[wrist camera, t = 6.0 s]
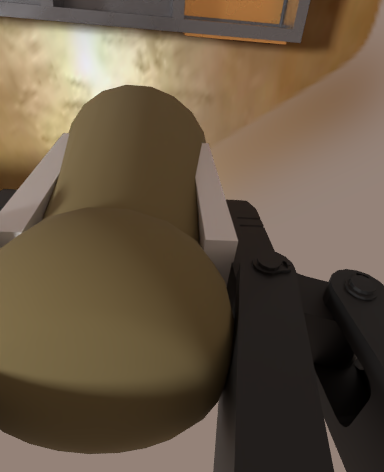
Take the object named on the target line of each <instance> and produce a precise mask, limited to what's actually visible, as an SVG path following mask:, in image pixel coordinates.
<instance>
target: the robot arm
mask: <svg viewBox="0 0 384 472" xmlns="http://www.w3.org/2000/svg"><path fill="white" fill-rule="evenodd" d="M68 137H69V133H63V134H62V135H61V137H60V138H59V139H58V140H57V142H56V143H55V144H54V145H53V147H52V148H51V149H50V150H49V152H48V153H47V154H46V155H45V156H44V158H43V159H42V160H41V161H40V163H39V164H38V165H37V166H36V168H35V169H34V170H33V171H32V173H31V174H30V175H29V176H28V178H27V179H26V180H25V181H24V182H23V184H22V185H21V186H20V187H19V189H18V190H12V189H3V190H1V191H0V248H1V247H3V246H4V245H6V244H7V243H8V242H10V241H11V240H13V239H14V238H15V237H17V236H18V235H20V234H21V233H23V232H24V231H26V230H28V229H29V228H31V227H32V226H34V225H36V224H37V223H39V222H40V221H42V218H43V215H44V212H45V210H46V207H47V205H48V202H49V199H50V197H51V194H52V192H53V189H54V186H55V184H56V181H57V178H58V176H59V173H60V169H61V165H62V161H63V157H64V153H65V149H66V145H67V141H68ZM195 180H196V193H197V205H198V224H199V245H200V246H201V248H202V249H203V250H204V252H205V253H206V254H207V255H208V257H209V258H210V259H211V261H212V262H213V263H214V265H215V266H216V268H217V270H218V271H219V273H220V274H221V276H222V278H223V279H224V281H225V284H226V288H227V292H228V296H229V300H230V305H231V309H232V313H233V317H234V336H233V349H232V356H231V363H230V368H229V372H228V375H227V379H226V383H225V387H224V390H223V392H222V394H221V396H220V399H219V404H218V417H217V431H216V445H215V458H214V472H334V469H333V464H332V458H331V453H330V448H329V443H328V437H327V432H326V427H325V422H324V419H325V421H326V423H327V426H328V428H329V431H330V433H331V436H332V438H333V440H334V443H335V445H336V448H337V450H338V453H339V455H340V457H341V459H342V462H343V464H344V467H345V469H346V471H347V472H384V285H383V284H382V283H381V282H379V281H378V280H376V279H375V278H373V277H371V276H370V275H368V274H365V273H362V272H359V271H355V270H348V269H345V270H338V271H337V272H335V273H333V274H332V275H331V278H330V280H329V282H326V281H322V280H318V279H314V278H310V277H306V276H303V275H300V274H298V273H296V270H295V268H294V266H293V264H292V262H290V261H289V260H288V259H287V258H286V257H284V256H283V255H281V254H279V253H277V252H275V251H274V249H273V247H272V244H271V242H270V240H269V237H268V235H267V233H266V231H265V228H263V224H262V221H261V220H260V217H259V215H258V212H257V210H256V209H255V208H254V207H253V206H252V205H251V204H250V203H249V202H247V201H241V200H225V196H224V193H223V189H222V186H221V183H220V180H219V176H218V173H217V170H216V167H215V163H214V160H213V157H212V154H211V150H210V147H209V143H202V146H201V151H200V156H199V161H198V166H197V171H196V176H195Z"/></svg>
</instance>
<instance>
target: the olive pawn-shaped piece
mask: <svg viewBox="0 0 384 472" xmlns="http://www.w3.org/2000/svg"><path fill="white" fill-rule="evenodd" d="M202 143H206V141H205V136H204V132H203V130H202V129H201V127H200V125H199V124H198V122H197V120H196V118H195V117H194V115H193V113H192V112H191V111H190V110H189V109H187V108H186V107H185V106H184V105H183V104H182V103H181V102H179V101H178V100H177V99H176V98H175V97H174V96H171V95H169V94H167V93H164V92H162V91H160V90H157V89H155V88H153V87H146V86H134V85H124V86H120V87H117V88H113V89H109V90H105V91H102V92H101V93H100V94H98V95H97V96H95V97H94V98H93V99H91V100H90V101H89V102H87V103H86V104H84V105H83V107H82V109H81V110H80V112H79V113H78V115H77V116H76V118H75V119H74V121H73V122H72V124H71V128H70V131H69V137H68V141H67V145H66V149H65V153H64V157H63V161H62V165H61V169H60V173H59V176H58V178H57V181H56V184H55V186H54V189H53V192H52V194H51V197H50V199H49V202H48V205H47V207H46V210H45V212H44V215H43V218H42V221H40V222H39V223H37V224H36V225H34V226H32V227H31V228H29V229H28V230H26V231H24V232H23V233H21V234H20V235H18V236H17V237H15V238H14V239H13V240H11V241H10V242H8V243H7V244H6V245H4V246H3V247H1V248H0V430H2V431H3V432H5V433H7V434H9V435H12V436H14V437H16V438H18V439H21V440H22V441H25V442H27V443H29V444H33V445H37V446H41V447H45V448H49V449H53V450H57V451H65V452H75V453H84V454H96V453H97V454H99V453H120V452H126V451H132V450H137V449H143V448H147V447H150V446H153V445H156V444H159V443H162V442H164V441H167V440H170V439H172V438H173V437H175V436H177V435H178V434H180V433H182V432H183V431H185V430H186V429H188V428H190V427H191V426H193V425H194V424H196V423H197V422H199V421H201V420H202V419H204V418H205V416H206V415H207V414H208V412H210V410H211V409H212V408H213V407H214V406H215V405H216V403H217V402H218V401H219V399H220V396H221V394H222V392H223V390H224V387H225V383H226V379H227V375H228V372H229V368H230V363H231V356H232V349H233V336H234V317H233V313H232V309H231V305H230V300H229V296H228V292H227V288H226V284H225V281H224V279H223V278H222V276H221V274H220V273H219V271H218V270H217V268H216V266H215V265H214V263H213V262H212V261H211V259H210V258H209V257H208V255H207V254H206V253H205V252H204V250H203V249H202V248H201V246H200V245H199V224H198V205H197V193H196V180H195V176H196V171H197V166H198V161H199V156H200V151H201V146H202Z"/></svg>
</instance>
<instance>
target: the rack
mask: <svg viewBox="0 0 384 472" xmlns="http://www.w3.org/2000/svg"><path fill="white" fill-rule="evenodd" d="M309 4H310V0H0V16H6V17H17V18H28V19H39V20H50V21H61V22H73V23H84V24H95V25H106V26H117V27H128V28H140V29H151V30H162V31H173V32H184V33H183V34H184V35H185V36H195V37H207V38H218V39H229V40H241V41H252V42H263V43H275V44H286V42H296V43H301V39H302V34H303V30H304V26H305V22H306V17H307V13H308V9H309Z"/></svg>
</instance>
